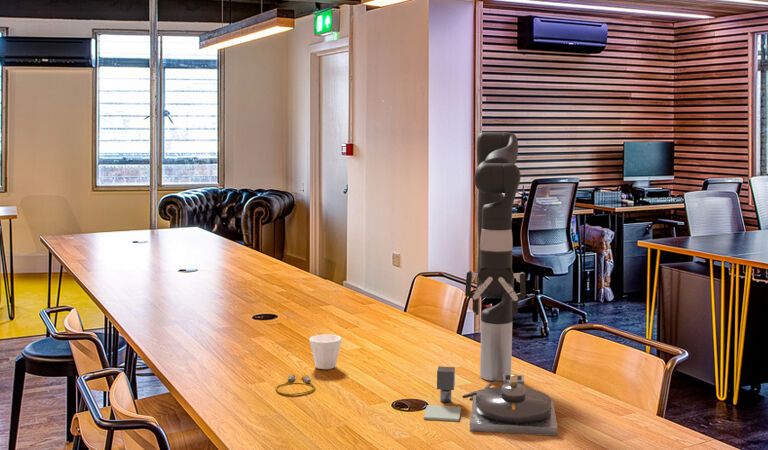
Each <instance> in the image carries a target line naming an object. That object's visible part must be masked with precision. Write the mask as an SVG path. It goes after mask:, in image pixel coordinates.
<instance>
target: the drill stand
mask: <svg viewBox="0 0 768 450" xmlns="http://www.w3.org/2000/svg"><path fill="white" fill-rule="evenodd" d="M472 397H473V400H472V404H471V413H470V420H469V431H470V432H481V433H482V432H483V433H484V432H485V433H499V434H500V433H503V434H517V435H518V434H519V435H530V436H531V435H533V436H534V435H536V436H551V437H558V429H559V428H558V423H557V422H558V421H557V417H556V411H555V405H554V399H553V398H551V414H550V416H549V417H547V418H545V419H543V420H540V421H536V422H529V423H510V422H502V421H497V420H493V419H489V418H487V417H484V416H482V415H481V414H479V413H478V412H477V410H476V395H473V396H472Z"/></svg>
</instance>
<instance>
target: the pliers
mask: <svg viewBox="0 0 768 450" xmlns="http://www.w3.org/2000/svg"><path fill="white" fill-rule="evenodd" d="M496 382H497V383H501V381H490V382H489V383H488V384H487V385H485V387H484V388H482V389H479V390H474V391H472V392H469V393H466V394H463V395H462V398H463V399H464V398H468V397H469V401H473V396H474V395H476V394H477V393H478V392H480V391H481V390H484V389H487V388H490V387H491V386H492V385H494V384H497V383H496ZM493 383H494V384H493ZM491 384H492V385H491ZM489 386H490V387H489Z"/></svg>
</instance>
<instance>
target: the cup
mask: <svg viewBox="0 0 768 450" xmlns="http://www.w3.org/2000/svg"><path fill="white" fill-rule="evenodd" d="M308 342H309V346H310V349H311V353H312V358H313V362H314V365H315V368H316V369H317V370H320V369H321V371H322V370H323V371H330V370H333V369H335V368H336V367H337V366H336V365H337V362H338V357H339V352H340V349H341V344H342V337H341V336H339V335H336V334H330V333H329V334H326V333H325V334H316V335H312V336H311V337H310V338H309V339H308ZM329 369H330V370H329Z"/></svg>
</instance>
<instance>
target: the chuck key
mask: <svg viewBox="0 0 768 450" xmlns="http://www.w3.org/2000/svg"><path fill="white" fill-rule="evenodd" d="M455 384H456V367H455V366H439V365H438V368H437V370H436V390H439V392H440V393H439V394H440V397H439V399H440V403H443V404H450V403H452V391H454V389H455V386H456V385H455Z"/></svg>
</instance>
